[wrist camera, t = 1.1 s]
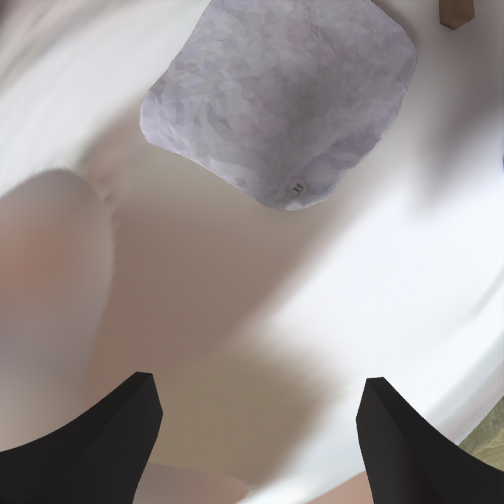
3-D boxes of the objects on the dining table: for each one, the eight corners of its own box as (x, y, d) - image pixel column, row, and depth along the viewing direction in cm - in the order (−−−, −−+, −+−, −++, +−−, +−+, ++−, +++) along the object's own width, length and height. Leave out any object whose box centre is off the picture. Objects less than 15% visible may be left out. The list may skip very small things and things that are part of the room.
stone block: (399, 60, 14) (257, -35, 12) (447, 52, 10) (267, -75, 7) (295, 216, 18) (143, 132, 15) (317, 252, 14) (114, 141, 11)
